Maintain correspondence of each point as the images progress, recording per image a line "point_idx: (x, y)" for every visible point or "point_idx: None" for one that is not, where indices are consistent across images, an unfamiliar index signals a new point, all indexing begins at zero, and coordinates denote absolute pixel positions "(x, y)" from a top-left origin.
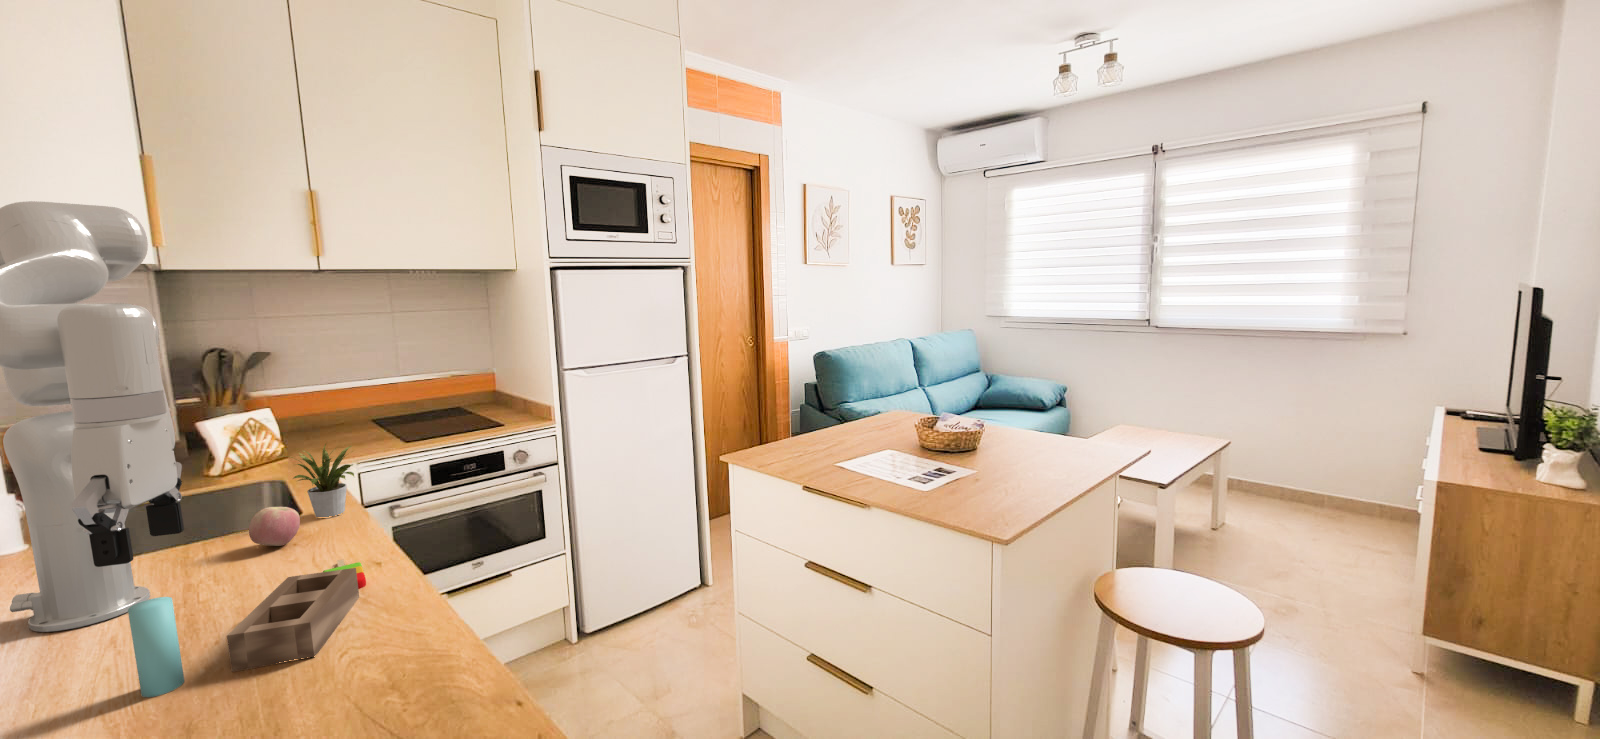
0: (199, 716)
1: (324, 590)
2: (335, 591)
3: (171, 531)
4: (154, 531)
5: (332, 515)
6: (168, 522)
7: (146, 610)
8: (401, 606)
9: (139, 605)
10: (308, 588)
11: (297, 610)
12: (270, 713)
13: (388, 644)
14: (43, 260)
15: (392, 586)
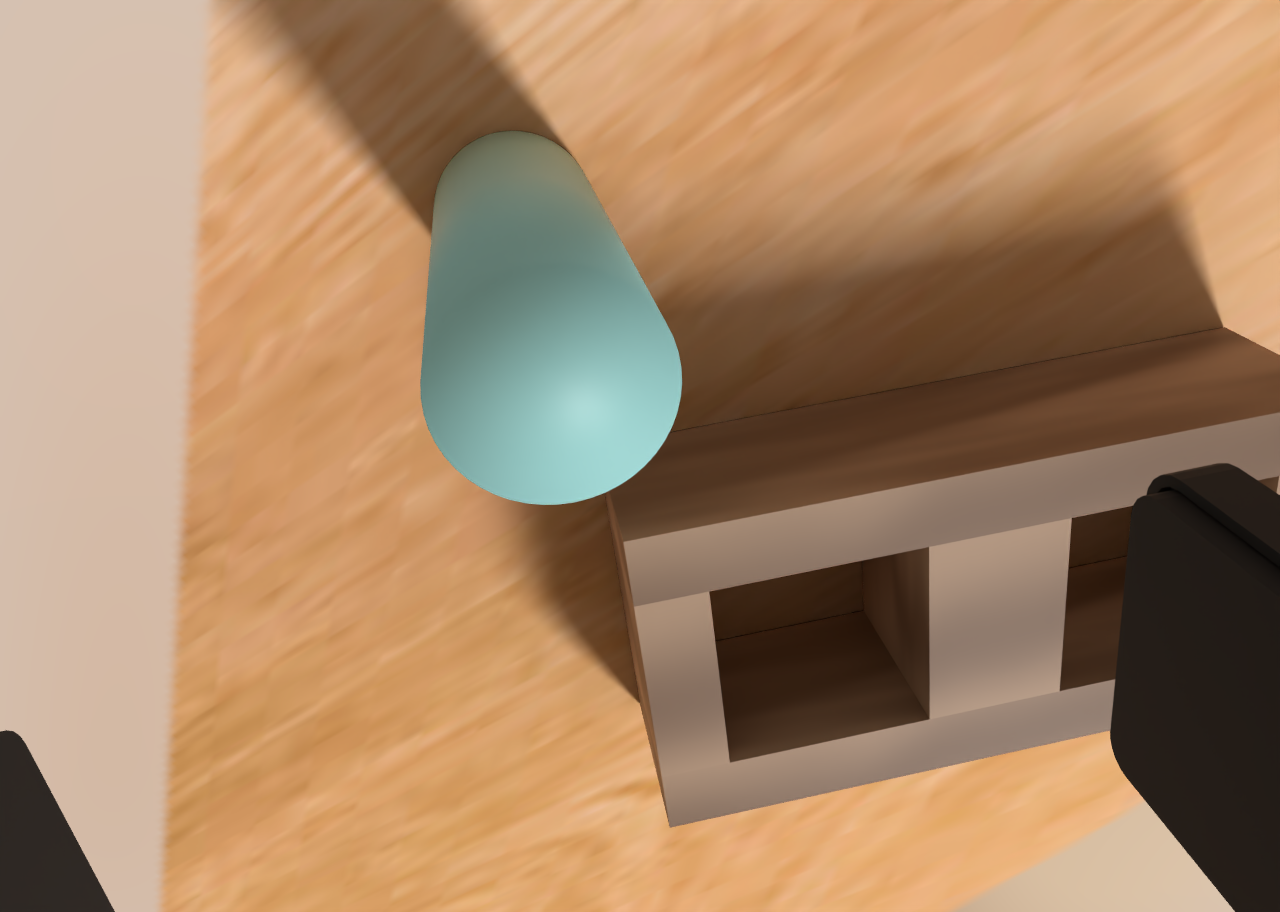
0: (248, 546)
1: (1043, 696)
2: (1005, 752)
3: (1137, 704)
4: (1171, 564)
5: None
6: (1231, 791)
7: (439, 445)
8: (1004, 794)
9: (544, 322)
10: None
11: (911, 626)
12: (246, 778)
13: (676, 893)
14: None
15: None
